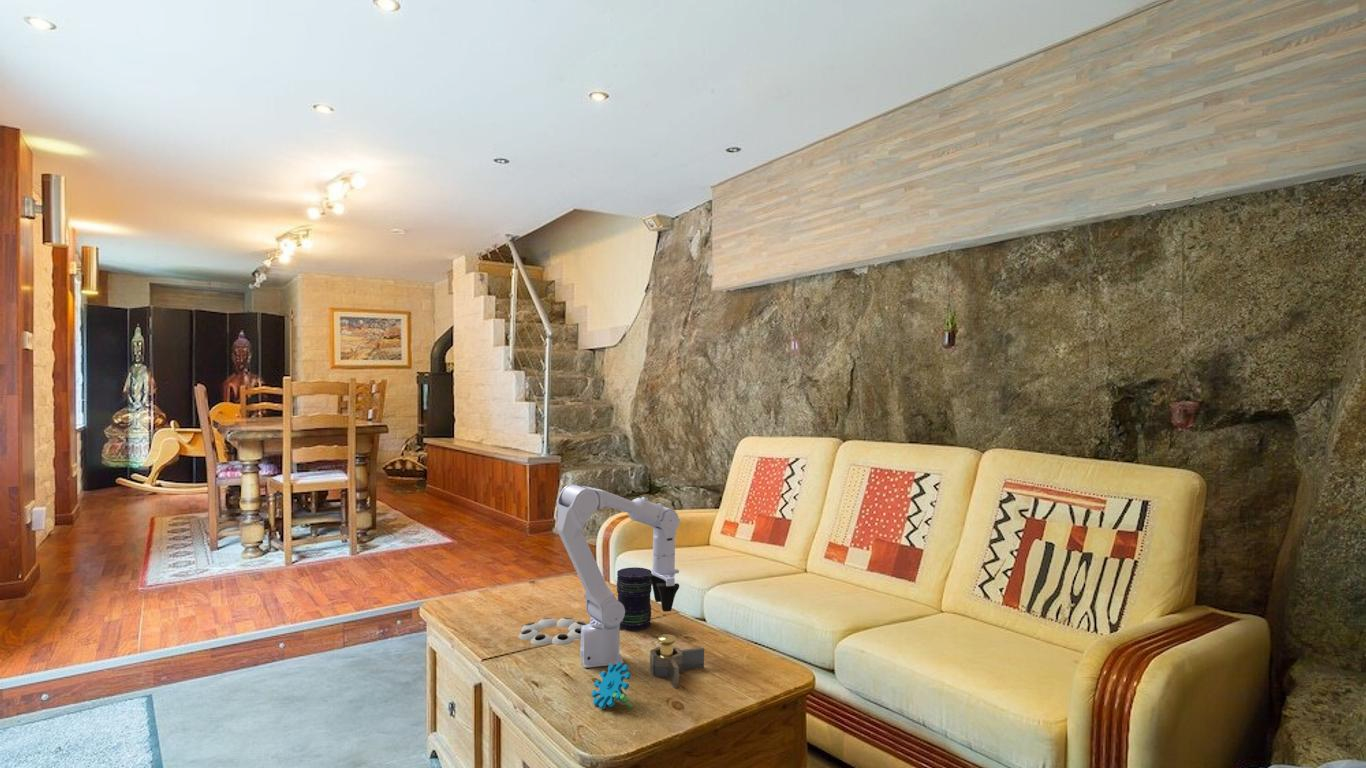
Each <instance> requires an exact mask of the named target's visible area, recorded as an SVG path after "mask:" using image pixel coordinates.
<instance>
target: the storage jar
mask: <svg viewBox="0 0 1366 768" xmlns="http://www.w3.org/2000/svg"><path fill="white" fill-rule="evenodd" d="M649 574H652V570H650V569H648V568H644V567H625V568H621V569H619V570H617V574H616V575H617V577H616V593H617V600H618V601H619V602H621V603H622V604H623V606H624V608H625V615H624V618H623V620H622V622H621V623H620V630H622V631H624V630H626V631H625V632H641V630H642V631H645V629H646V630H649V629H650V628H651V626H652V624H651V621H652V605H651V594H652V593H651V592H652V591H653V587H652V583H651V580H650V578H649V576H648V575H649Z"/></svg>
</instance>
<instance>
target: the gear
mask: <svg viewBox="0 0 1366 768" xmlns="http://www.w3.org/2000/svg"><path fill="white" fill-rule="evenodd" d="M607 670H608V671H606V670H602V671H601V672H600V673H599V676H600V677H601V681H599V679H596V680H595V681H594V682H593V686H594V687H595V688H599V689H598V691H596V690H595V689H593V690H592V691H591V695H590V696H591V697H592V698H593V699H592V701H593V704H594V705H595V706H596V707H597V706H598V707H599V708H600V709H603V710H604V709H605V708H606V706H608V707H614V706H615V700H616V701H619V703H620V704H621V705H626V706H627V707H628V708H629V709H633V706H634V705H633V704H632V703H631V702H630V701H628V694H626V693H625V692H624V691H623V690H625V691H627V690H628V689H629V687H630V684H629V683H628V682H626V681H624V679H626V680H627V681H629V680H631V678H632V673H631V672H629V670H630V668H629V666H628V665H627V664H621V663H620V662H618V663H617V665H613V664H611V665H608V666H607ZM623 673H624V674H623ZM622 688H623V689H622Z"/></svg>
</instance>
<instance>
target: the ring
mask: <svg viewBox="0 0 1366 768" xmlns="http://www.w3.org/2000/svg"><path fill="white" fill-rule="evenodd" d="M587 624H588V623H586V622H584V621H576V620H575V619H573V618H571V617H562V618H560V619H559V620H556V619H554V618H553V617H547V618H546V617H545V618H541V619H540V620H538V622H535V621H534V622H533V621H532V622H529V623H525V624H524V625H523V626H522V628H521V629H520V631H521V632H520V633H519V634H518V635H517V637H518V639H520V640H521V641H530V644H532V645H534V646H547V645H550V644H553V645H556V646H566V645H570V644H572V643H574V640H581V633H578V632H581V626H583V625H587ZM553 627H558V628H567V629H568V630H567V631H568V633H559V634H556V635H554V636H553V637H552V636H550V635H549V634H547V633H540V632H541V631H542V630H544V629H545V628H546V629H547V628H549V629H550V628H553ZM536 638H538V640H537V639H536ZM539 638H541V639H540V640H539ZM559 638H566V639H559Z"/></svg>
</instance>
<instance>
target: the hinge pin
mask: <svg viewBox="0 0 1366 768" xmlns="http://www.w3.org/2000/svg"><path fill="white" fill-rule="evenodd" d="M657 639H658V640H657V641H658V643H660V645H659V647H660V656H666V657H670V656H673V647H674V643H675V642H676V636H675V635H672V634H668V633H667V634H661V635H659V636H658V638H657Z"/></svg>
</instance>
